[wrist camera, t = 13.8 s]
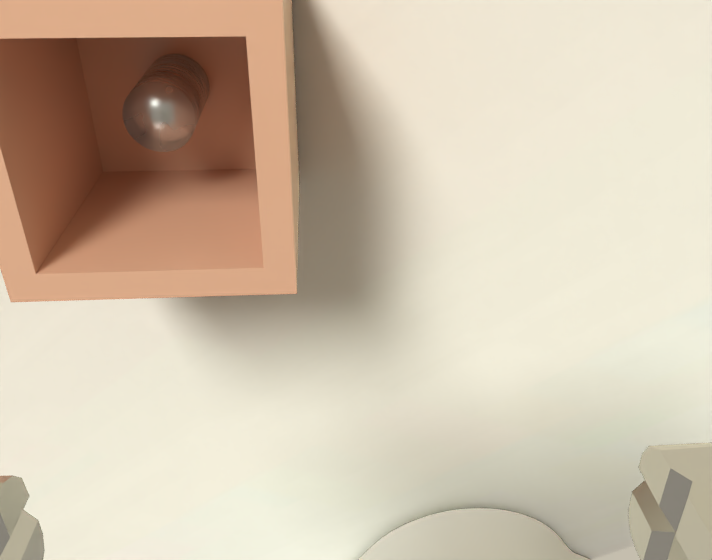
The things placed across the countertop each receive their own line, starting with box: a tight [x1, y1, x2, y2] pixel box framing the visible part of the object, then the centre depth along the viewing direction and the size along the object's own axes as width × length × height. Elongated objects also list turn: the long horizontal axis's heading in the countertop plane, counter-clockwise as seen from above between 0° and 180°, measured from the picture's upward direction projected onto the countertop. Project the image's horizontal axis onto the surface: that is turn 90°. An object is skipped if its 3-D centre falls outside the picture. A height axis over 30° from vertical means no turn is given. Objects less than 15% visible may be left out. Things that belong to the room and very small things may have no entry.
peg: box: [122, 54, 210, 152], centre depth 25 cm, size 2×2×4 cm
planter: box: [0, 0, 299, 302], centre depth 23 cm, size 9×9×9 cm
